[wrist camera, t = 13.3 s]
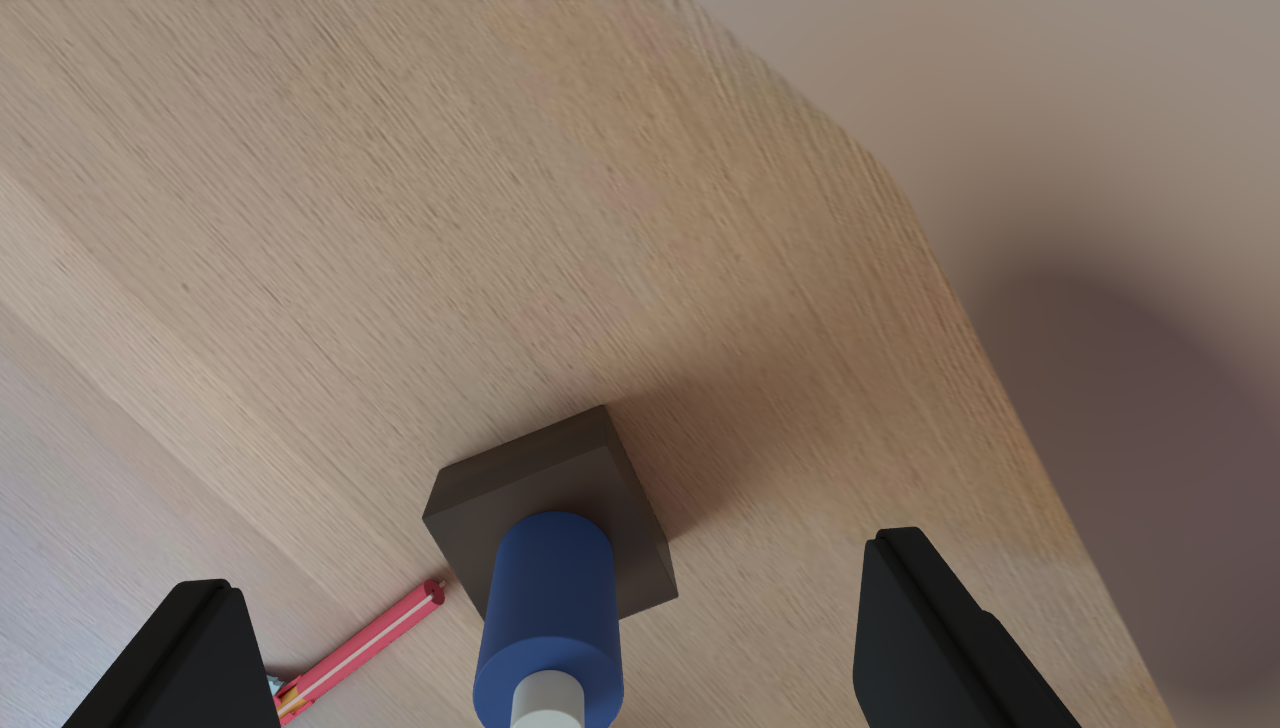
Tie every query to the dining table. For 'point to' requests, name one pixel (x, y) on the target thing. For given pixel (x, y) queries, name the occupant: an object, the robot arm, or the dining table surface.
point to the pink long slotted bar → (355, 651)
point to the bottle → (551, 629)
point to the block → (552, 507)
